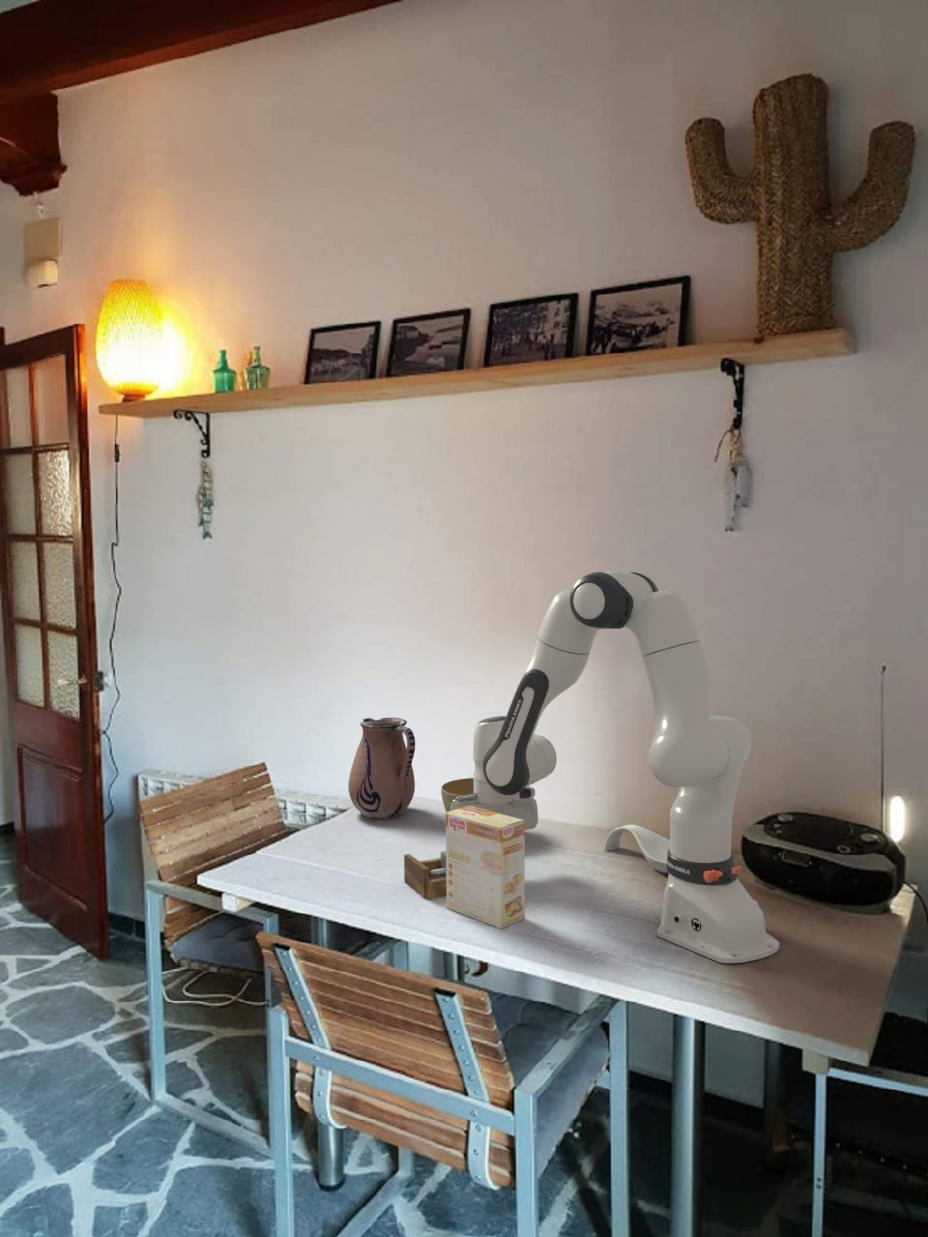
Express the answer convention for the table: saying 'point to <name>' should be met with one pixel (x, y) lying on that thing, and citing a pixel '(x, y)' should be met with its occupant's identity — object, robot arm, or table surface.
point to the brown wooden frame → (424, 877)
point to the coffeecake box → (485, 865)
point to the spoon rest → (643, 845)
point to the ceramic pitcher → (383, 769)
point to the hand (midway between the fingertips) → (494, 854)
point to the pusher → (443, 866)
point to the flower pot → (456, 790)
